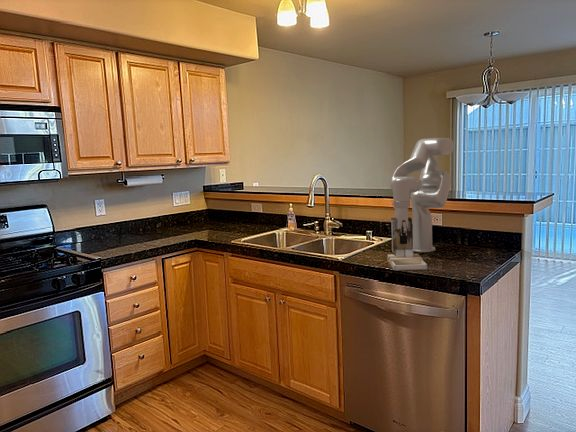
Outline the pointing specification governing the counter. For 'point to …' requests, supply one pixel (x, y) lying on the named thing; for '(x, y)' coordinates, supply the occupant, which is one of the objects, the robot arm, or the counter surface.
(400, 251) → the offcut
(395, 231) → the coffee box
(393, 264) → the tray
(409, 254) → the offcut
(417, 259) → the platform
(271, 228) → the counter surface
